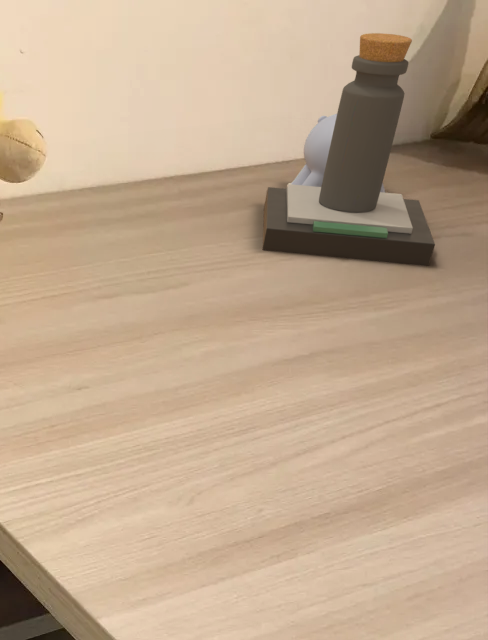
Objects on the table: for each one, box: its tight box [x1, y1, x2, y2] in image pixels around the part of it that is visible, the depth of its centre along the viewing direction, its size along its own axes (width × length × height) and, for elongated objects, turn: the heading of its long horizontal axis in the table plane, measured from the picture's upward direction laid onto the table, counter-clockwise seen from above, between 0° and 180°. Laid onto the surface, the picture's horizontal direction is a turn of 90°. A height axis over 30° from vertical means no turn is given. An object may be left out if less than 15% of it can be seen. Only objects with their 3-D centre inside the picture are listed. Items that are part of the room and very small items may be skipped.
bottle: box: [319, 32, 413, 212], centre depth 102 cm, size 6×6×15 cm
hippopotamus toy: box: [288, 113, 386, 193], centre depth 117 cm, size 11×15×10 cm
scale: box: [261, 183, 436, 267], centre depth 107 cm, size 16×15×3 cm
